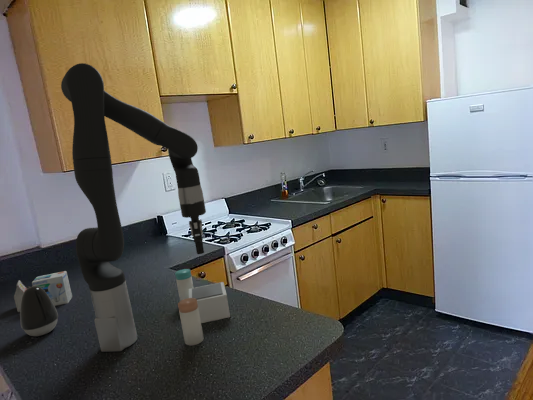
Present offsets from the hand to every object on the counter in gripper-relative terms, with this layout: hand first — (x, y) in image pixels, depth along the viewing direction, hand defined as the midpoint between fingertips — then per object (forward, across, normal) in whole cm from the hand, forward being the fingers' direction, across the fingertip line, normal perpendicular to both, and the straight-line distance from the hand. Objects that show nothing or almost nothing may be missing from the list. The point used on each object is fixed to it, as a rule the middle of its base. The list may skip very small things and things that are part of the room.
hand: (200, 249), depth 124 cm
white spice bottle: (+18, +23, -5) cm, 29 cm away
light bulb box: (+18, -30, -57) cm, 67 cm away
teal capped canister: (+18, -3, -7) cm, 20 cm away
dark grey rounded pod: (+18, -5, -52) cm, 56 cm away
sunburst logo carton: (+18, -32, -68) cm, 77 cm away
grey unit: (+18, +8, 0) cm, 20 cm away
